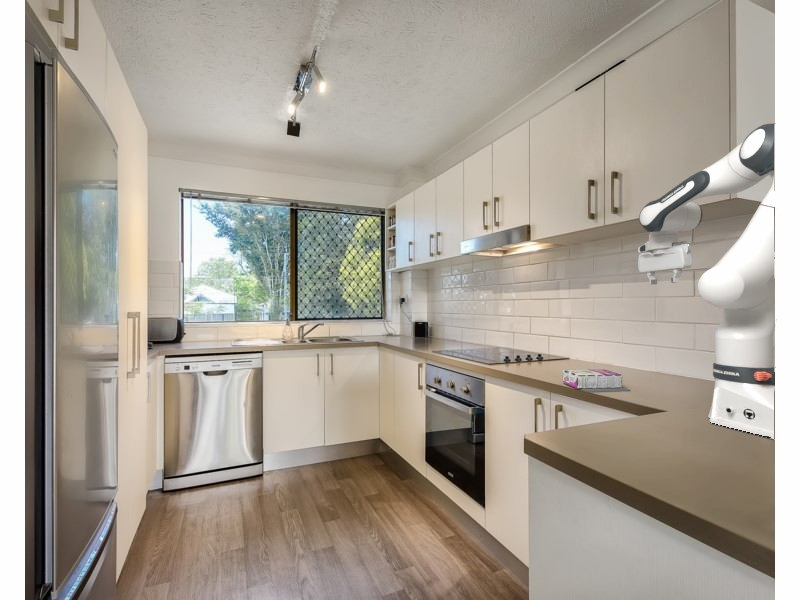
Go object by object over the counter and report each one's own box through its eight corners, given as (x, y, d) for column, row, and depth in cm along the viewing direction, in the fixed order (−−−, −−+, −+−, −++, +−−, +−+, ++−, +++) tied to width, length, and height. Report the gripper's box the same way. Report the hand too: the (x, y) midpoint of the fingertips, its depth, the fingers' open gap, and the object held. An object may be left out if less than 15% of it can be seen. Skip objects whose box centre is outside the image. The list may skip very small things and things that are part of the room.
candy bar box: (604, 382, 149) (562, 382, 148) (604, 369, 149) (562, 369, 148) (622, 388, 137) (576, 389, 137) (622, 374, 137) (576, 374, 137)
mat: (630, 390, 135) (630, 389, 135) (589, 392, 133) (589, 391, 133) (603, 383, 149) (603, 382, 149) (565, 384, 146) (565, 383, 146)
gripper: (697, 240, 131) (697, 281, 130) (649, 249, 151) (649, 285, 151) (680, 239, 130) (681, 281, 129) (634, 249, 150) (635, 285, 150)
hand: (663, 283), depth 140 cm, fingers open, 8 cm apart
